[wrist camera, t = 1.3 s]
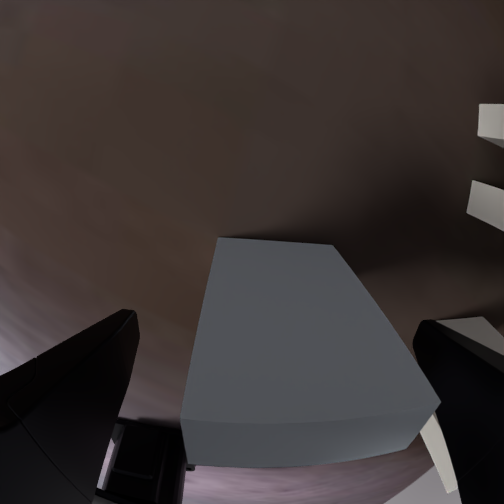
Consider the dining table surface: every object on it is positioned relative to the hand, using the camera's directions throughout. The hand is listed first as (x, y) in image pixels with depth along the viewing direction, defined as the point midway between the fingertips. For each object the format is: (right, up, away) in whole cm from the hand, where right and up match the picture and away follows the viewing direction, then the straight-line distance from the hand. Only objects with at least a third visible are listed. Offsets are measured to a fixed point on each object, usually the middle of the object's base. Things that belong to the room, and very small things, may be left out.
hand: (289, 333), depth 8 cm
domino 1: (0, +2, +5) cm, 5 cm away
